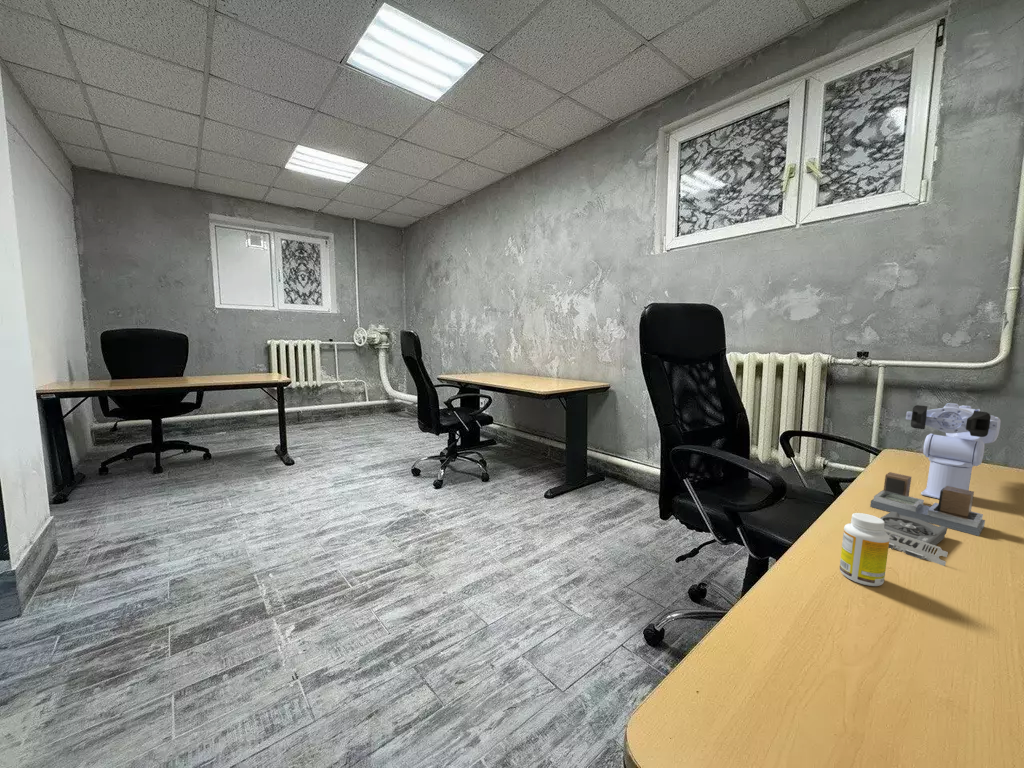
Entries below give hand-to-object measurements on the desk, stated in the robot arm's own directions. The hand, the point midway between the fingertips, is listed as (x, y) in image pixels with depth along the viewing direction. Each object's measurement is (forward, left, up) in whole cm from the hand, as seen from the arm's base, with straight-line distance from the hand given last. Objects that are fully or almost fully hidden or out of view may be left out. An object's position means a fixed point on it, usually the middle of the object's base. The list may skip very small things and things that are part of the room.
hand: (942, 421), depth 90 cm
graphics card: (+21, +1, -22) cm, 31 cm away
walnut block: (-6, -7, -22) cm, 24 cm away
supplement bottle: (+46, -1, -22) cm, 51 cm away
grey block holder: (+2, 0, -22) cm, 22 cm away
